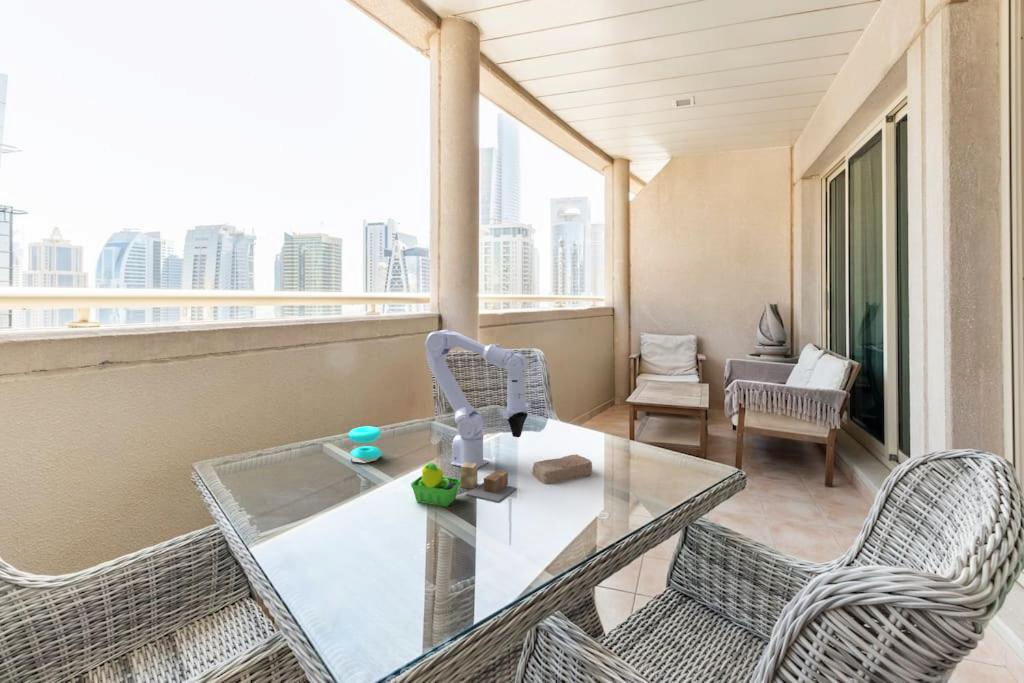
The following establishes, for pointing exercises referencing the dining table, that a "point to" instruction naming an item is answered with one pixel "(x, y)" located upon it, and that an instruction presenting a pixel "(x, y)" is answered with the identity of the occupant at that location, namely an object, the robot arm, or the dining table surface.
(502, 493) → the mat
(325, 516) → the dining table surface
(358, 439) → the donuts
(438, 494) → the fruit basket
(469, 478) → the oak block
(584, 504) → the dining table surface
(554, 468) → the brick
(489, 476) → the walnut block
